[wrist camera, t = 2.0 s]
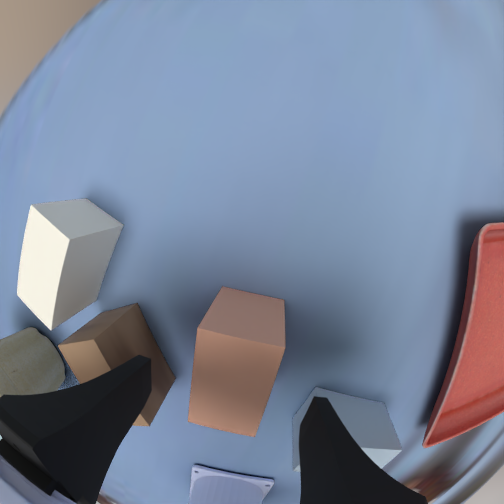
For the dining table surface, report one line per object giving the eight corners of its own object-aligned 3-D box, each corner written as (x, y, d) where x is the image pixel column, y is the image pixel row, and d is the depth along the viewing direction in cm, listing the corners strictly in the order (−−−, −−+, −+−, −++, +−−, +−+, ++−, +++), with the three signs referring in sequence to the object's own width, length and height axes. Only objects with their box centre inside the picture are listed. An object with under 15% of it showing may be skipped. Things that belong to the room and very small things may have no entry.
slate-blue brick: (383, 402, 16) (402, 450, 11) (358, 430, 17) (369, 477, 12) (315, 386, 16) (322, 442, 11) (292, 417, 17) (292, 470, 12)
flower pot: (92, 369, 18) (33, 432, 9) (69, 406, 20) (27, 453, 12) (24, 290, 17) (-44, 326, 9) (13, 343, 19) (-35, 378, 11)
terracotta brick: (261, 380, 16) (254, 436, 11) (209, 368, 16) (187, 421, 12) (284, 299, 15) (285, 347, 10) (222, 285, 15) (197, 327, 10)
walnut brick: (176, 377, 17) (149, 426, 12) (138, 381, 18) (108, 423, 13) (137, 302, 16) (93, 339, 11) (101, 312, 16) (57, 345, 12)
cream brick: (96, 300, 16) (51, 330, 11) (64, 272, 16) (16, 294, 11) (124, 225, 15) (69, 239, 10) (87, 198, 15) (31, 204, 10)
